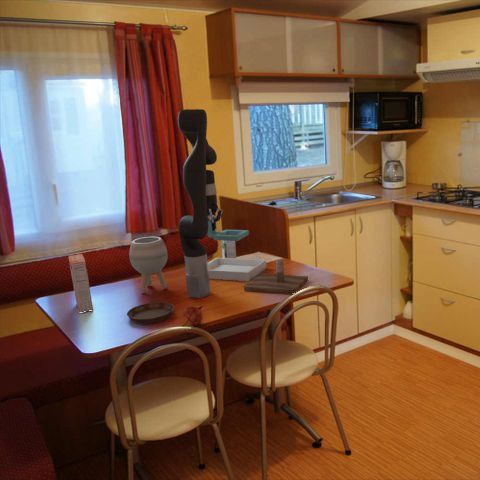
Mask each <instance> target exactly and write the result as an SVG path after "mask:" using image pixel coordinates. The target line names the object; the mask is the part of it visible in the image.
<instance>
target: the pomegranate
mask: <svg viewBox="0 0 480 480" xmlns="http://www.w3.org/2000/svg"><path fill="white" fill-rule="evenodd" d="M203 308H204V306H203V305H200V306H199V307H197V306H195V305H189V306H187V307H186V308H185V310H184V311H183V313H182V316H183V317H185V319H187V321H185V323H184V324H183V325H182V327H185V325H186V324H188V322H189V323H191V324H192V325H193V326H194V327H195V326H199V325H200V324H202V323H201V322H202V321H203V318H204V314H203V312H202V310H201V309H203Z"/></svg>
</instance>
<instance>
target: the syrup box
mask: <svg viewBox="0 0 480 480" xmlns="http://www.w3.org/2000/svg"><path fill="white" fill-rule="evenodd" d="M236 250H237V249H236V241H224V240H221V251H222V253H221V254H222V255H221V256H222V258H234V259H237V251H236Z"/></svg>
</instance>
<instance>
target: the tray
mask: <svg viewBox="0 0 480 480" xmlns="http://www.w3.org/2000/svg"><path fill="white" fill-rule="evenodd" d="M266 269H267V260H266V259H250V258H236V259H234V258H223V257H215V258H213V259H212V260H210V261H209V262H208V273H209V280H210V279H211V280H221V279H222V280H224V281H236V280H237V281H238V282H250V281H251V280H253V279H254V278H255V277H257V276H258V275H259V274H260V273H262V272H264V271H265V270H266Z"/></svg>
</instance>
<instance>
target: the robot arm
mask: <svg viewBox="0 0 480 480" xmlns="http://www.w3.org/2000/svg"><path fill="white" fill-rule="evenodd" d="M177 115H178V116H177V126H178V128H179V131H180V132H181V134H182V135H183V136H184V138H185V139H186V140H187V141H188V142H189V143H190V146H191V147H192V150H191V152H190V153H189V155H188V156H187V158H186V160H185V162H184V164H183V166H182V181H183V186H184V190H185V191H186V193H187V195H188V197H189V200H190V202H191V205H192V215H184V216H183V217H181V219H180V221H179V223H178V224H179V225H178V233H179V240H180V246H181V249H182V251H183V257H184V265H185V266H184V267H185V282H186V293H187V298H196V299H202V298H204V297H207V296H210V294H211V285H210V279H209V273H208V263H209V262H208V254H207V253H208V251H207V247H206V246H205V245H204V244H203V243H201V242H200V241H199V240H203V239H205V238H206V237H207V236H208V220H210V219H211V221H212V231H215V230H216V231H217V222H220V220H221V218H222V216H223V213H224V209H221V208H220V207H219V206H218V198H217V197H218V196H217V187H216V181H215V173H214V171H213V170H212V169H211V170H210V169H207V166H209V165H210V166H212V165H215V164H216V162H217V159H218V158H217V153H216V151H215V149H214V148H213V147H212V146H211V145H210V144H209V141H208V139H207V133H208V131H207V128H208V117H207V112H206V110H205V109H200V108H195V109H194V108H193V109H192V108H191V109H190V108H189V109H188V108H187V109H186V108H185V109H181V110H180V111H179V112H178V114H177Z"/></svg>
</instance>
